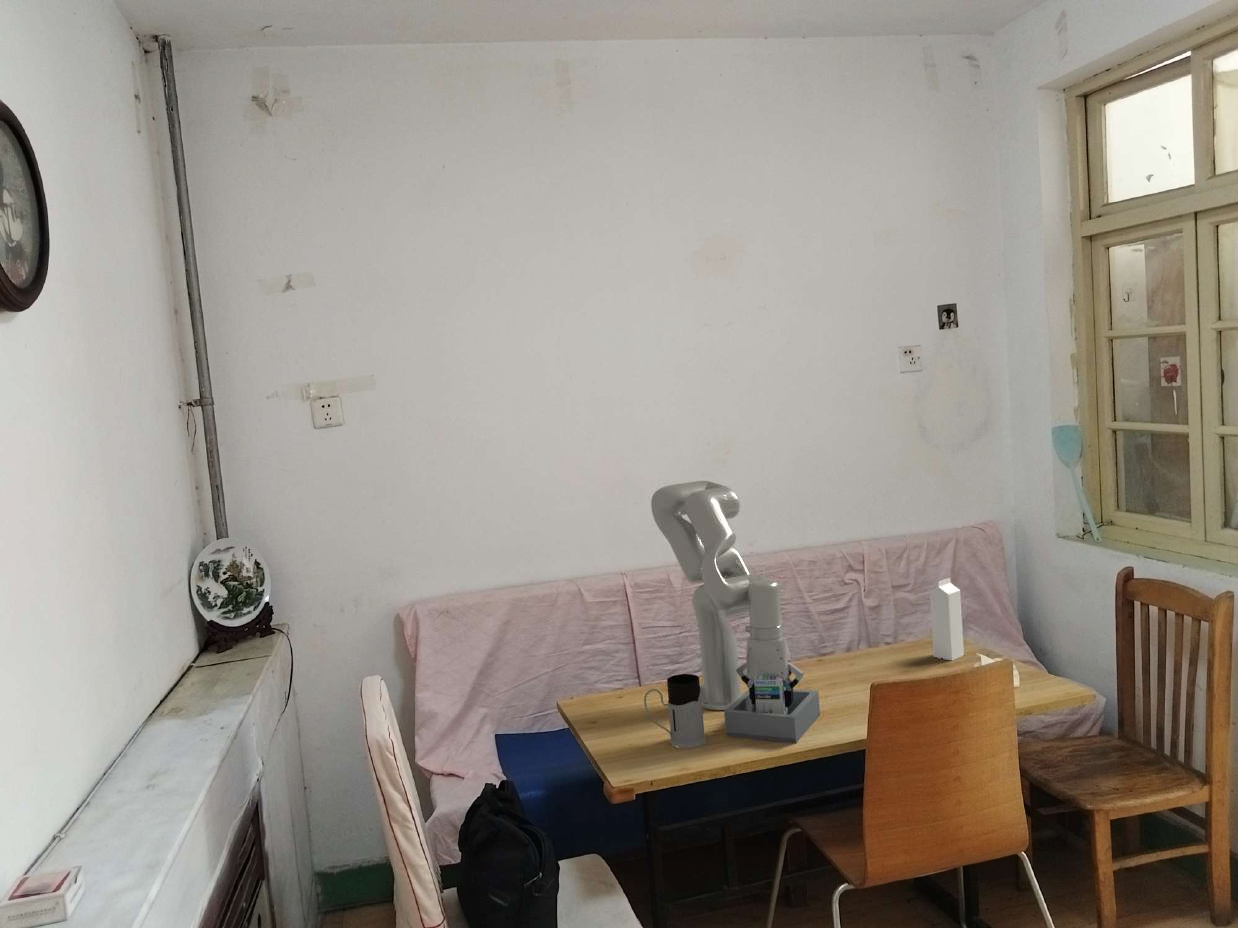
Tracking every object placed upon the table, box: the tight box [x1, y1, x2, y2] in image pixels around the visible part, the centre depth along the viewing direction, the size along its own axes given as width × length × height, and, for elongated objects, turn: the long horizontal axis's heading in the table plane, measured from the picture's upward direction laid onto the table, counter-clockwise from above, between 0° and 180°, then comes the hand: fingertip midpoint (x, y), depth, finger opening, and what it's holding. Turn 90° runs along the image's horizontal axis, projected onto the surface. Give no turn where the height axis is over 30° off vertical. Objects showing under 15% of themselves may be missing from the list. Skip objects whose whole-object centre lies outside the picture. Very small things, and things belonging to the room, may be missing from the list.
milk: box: [929, 577, 965, 661], centre depth 277 cm, size 6×6×22 cm
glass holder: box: [643, 673, 708, 749], centre depth 230 cm, size 9×14×15 cm, turn 107°
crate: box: [723, 688, 821, 744], centre depth 236 cm, size 17×19×6 cm
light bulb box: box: [754, 675, 788, 714], centre depth 236 cm, size 11×7×11 cm, turn 167°
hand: (771, 703), depth 236 cm, fingers closed on light bulb box, 7 cm apart
